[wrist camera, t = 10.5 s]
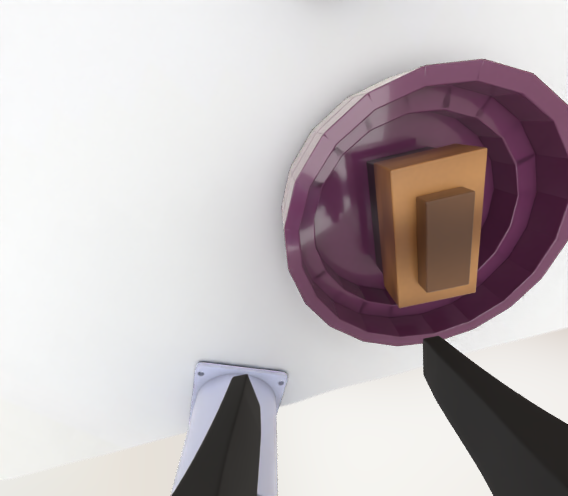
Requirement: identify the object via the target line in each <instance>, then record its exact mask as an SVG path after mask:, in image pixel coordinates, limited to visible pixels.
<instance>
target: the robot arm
mask: <svg viewBox="0 0 568 496" xmlns="http://www.w3.org/2000/svg"><path fill="white" fill-rule="evenodd" d="M423 369H424V370H423V372H424V376H425V378H426V381H427V383H428V385H429V387H430V389H431V391H432V393H433V395H434V397H435V399H436V401H437V403H438V404H439V406H440V407H441V409H442V411H443V412H444V414H445V416H446V417H447V419H448V420H449V422H450V424H451V425H452V427H453V428H454V430H455V432H456V433H457V435H458V436H459V438H460V440H461V441H462V443H463V444H464V446H465V447H466V449H467V451H468V452H469V454H470V455H471V457H472V459H473V460H474V462H475V463H476V465H477V467H478V469H479V470H480V472H481V474H482V475H483V477H484V479H485V481H486V483H487V485H488V486H489V488H490V490H491V492H492V494H493V496H568V424H566V423H565V422H563V421H561V420H560V419H558V418H556V417H555V416H553V415H551V414H549V413H548V412H546V411H545V410H543V409H541V408H540V407H538V406H537V405H535V404H533V403H532V402H530V401H529V400H527V399H526V398H524V397H523V396H521V395H520V394H518V393H516V392H515V391H513V390H512V389H510V388H509V387H508V386H506V385H504V384H503V383H502V382H500V381H499V380H497V379H496V378H495V377H493V376H492V375H490V374H489V373H488V372H486V371H485V370H483V369H482V368H481V367H479V366H478V365H477V364H475V363H474V362H472V361H471V360H470V359H468V358H467V357H466V356H465V355H463V354H462V353H461V352H459V351H458V350H457V349H455V348H454V347H453V346H452V345H450V344H449V343H448V342H446V341H445V340H444V339H443V338H441V337H440V336H434V337H429V338H424V339H423ZM287 380H288V376H287V373H285V372H280V371H271V370H263V369H255V368H247V367H238V366H230V365H222V364H213V363H205V362H200V363H198V364H197V365H196V369H195V377H194V386H193V394H192V403H191V412H190V420H189V428H188V432H187V435H186V439H185V443H184V447H183V450H182V454H181V458H180V462H179V465H178V469H177V473H176V477H175V480H174V485H173V488H172V492H171V496H278V483H277V481H278V479H277V423H276V415H277V412H278V409H279V406H280V402H281V399H282V396H283V393H284V389H285V386H286V383H287Z"/></svg>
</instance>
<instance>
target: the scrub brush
mask: <svg viewBox="0 0 568 496" xmlns="http://www.w3.org/2000/svg"><path fill="white" fill-rule="evenodd" d="M486 161H487V148H485V147H478V146H471V145H463V144H456V143H455V144H451V145H447V146H443V147H438V148H433V147H425V148H421V149H416V150H412V151H408V152H404V153H400V154H395V155H391V156H387V157H383V158H379V159H374V160H370V161H367V171H368V182H369V192H370V203H371V213H372V223H373V234H374V244H375V254H376V265H377V266H378V268H379V269H380V271H381V272H382V273H383V279H384V287H385V288H386V289H387V291H388V292H389V294H390V295H391V297H392V298H393V300H394V301H395V303H396V304H397V306H398V307H399V308H403V307H408V306H413V305H418V304H422V303H427V302H432V301H437V300H442V299H447V298H451V297H456V296H461V295H466V294H471V293H475V292H476V283H477V270H478V258H479V246H480V234H481V222H482V210H483V198H484V185H485V173H486Z"/></svg>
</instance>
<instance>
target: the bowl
mask: <svg viewBox="0 0 568 496" xmlns="http://www.w3.org/2000/svg"><path fill="white" fill-rule="evenodd" d="M455 143H456V144H463V145H471V146H478V147H485V148H487V161H486V173H485V185H484V198H483V210H482V222H481V234H480V246H479V258H478V270H477V283H476V292H475V293H471V294H466V295H461V296H456V297H451V298H447V299H442V300H437V301H432V302H427V303H422V304H418V305H413V306H408V307H403V308H399V307H398V306H397V304H396V303H395V301H394V300H393V298H392V297H391V295H390V294H389V292H388V291H387V289H386V288H385V287H384V279H383V273H382V272H381V271H380V269H379V268H378V266H377V265H376V254H375V244H374V234H373V223H372V213H371V203H370V192H369V182H368V171H367V161H370V160H374V159H379V158H383V157H387V156H391V155H395V154H400V153H404V152H408V151H412V150H416V149H421V148H425V147H433V148H438V147H443V146H447V145H451V144H455ZM282 218H283V227H284V237H285V245H286V254H287V263H288V269H289V272H290V274H291V276H292V278H293V280H294V282H295V284H296V286H297V288H298V290H299V292H300V294H301V296H302V298H303V300H304V302H305V304H306V305H307V306H309V307H310V308H311V309H312V310H313V311H314V312H315V313H316V314H317V315H318V316H319V317H320V318H321V319H322V320H324V321H325V322H326V323H327V324H328V325H329V326H330V327H332V328H334V329H337V330H339V331H341V332H343V333H346V334H348V335H350V336H352V337H354V338H357V339H359V340H361V341H363V342H371V343H378V344H385V345H392V346H404V345H414V344H423V339H424V338H429V337H434V336H440V337H441V338H443V339H446V338H449V337H452V336H455V335H458V334H461V333H464V332H467V331H470V330H472V329H475V328H476V327H478V326H480V325H481V324H483V323H485V322H487V321H488V320H490V319H492V318H493V317H495V316H497V315H498V314H500V313H502V312H503V311H505V310H507V309H508V308H510V307H511V306H512V305H513V304H515V303H516V302H517V301H518V300H519V299H520V298H521V297H522V296H523V295H524V294H525V293H526V292H528V291H529V290H530V289H531V288H532V287H533V286H534V285H535V284H536V283H537V282H538V281H540V280H541V279H542V277H543V276H544V275H545V273H546V272H547V270H548V269H549V267H550V266H551V265H552V263H553V262H554V260H555V259H556V257H557V256H558V254H559V253H560V251H561V250H562V249H563V247H564V246H565V244H566V243H567V241H568V105H567V104H566V103H565V102H564V101H563V100H562V99H561V98H560V97H559V96H558V95H556V94H555V93H554V92H553V91H552V90H551V89H550V88H549V87H548V86H547V85H546V84H545V83H543V82H542V81H541V80H540V79H539V78H538V77H537V76H536V75H534V73H531V72H527V71H524V70H520V69H517V68H513V67H510V66H507V65H503V64H500V63H496V62H493V61H490V60H486V59H476V60H467V61H458V62H449V63H440V64H432V65H425V66H421V67H418V68H415V69H413V70H410V71H407V72H404V73H401V74H398V75H395V76H392V77H389V78H387V79H385V80H383V81H381V82H379V83H376V84H374V85H372V86H370V87H368V88H366V89H364V90H362V91H360V92H358V93H356V94H354V95H352V96H349V97H347V99H345V100H344V101H343V102H342V103H340V104H339V105H338V106H337V107H336V108H335V109H334V110H333V111H332V112H331V113H330V114H329V115H328V116H327V117H326V118H325V119H323V120H322V121H321V122H320V123H319V124H318V125H317V126H316V127H315V128H314V129H313V130H312V131H311V133H310V134H309V136H308V138H307V140H306V141H305V143H304V145H303V147H302V148H301V150H300V152H299V154H298V155H297V157H296V159H295V161H294V162H293V164H292V166H291V168H290V170H289V175H288V179H287V184H286V188H285V193H284V198H283V202H282Z"/></svg>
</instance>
